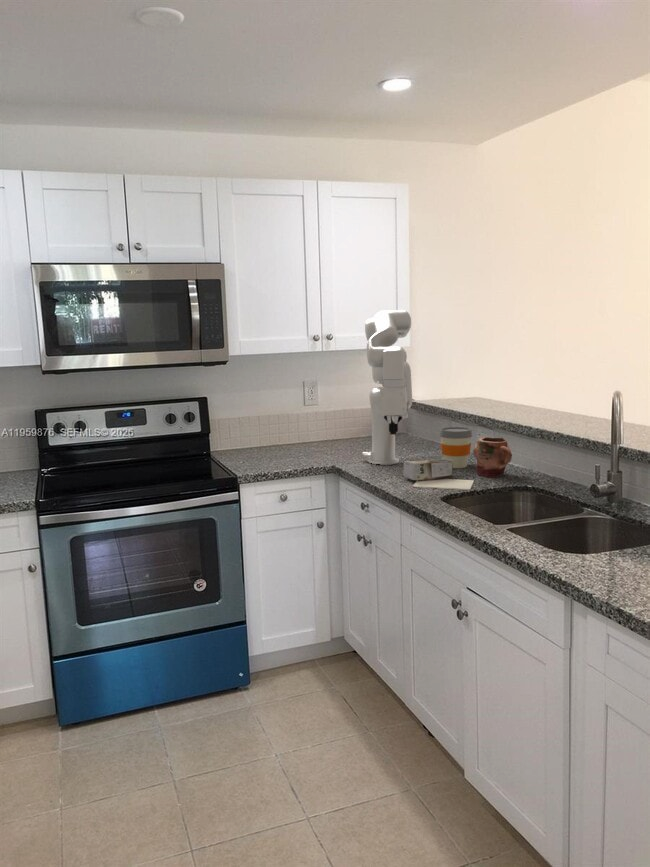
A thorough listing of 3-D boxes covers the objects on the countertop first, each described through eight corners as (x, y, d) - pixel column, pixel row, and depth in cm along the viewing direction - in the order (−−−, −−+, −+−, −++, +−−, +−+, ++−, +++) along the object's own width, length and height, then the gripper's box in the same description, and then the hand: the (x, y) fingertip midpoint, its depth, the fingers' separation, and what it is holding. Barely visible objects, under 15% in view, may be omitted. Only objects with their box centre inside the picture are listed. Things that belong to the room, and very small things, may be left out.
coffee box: (412, 480, 257) (453, 479, 262) (413, 463, 257) (453, 461, 261) (402, 477, 266) (442, 475, 271) (403, 460, 265) (442, 458, 270)
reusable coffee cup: (446, 461, 296) (447, 426, 294) (475, 464, 290) (476, 428, 287) (435, 467, 285) (435, 430, 283) (465, 470, 279) (465, 432, 277)
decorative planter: (524, 478, 263) (525, 441, 261) (500, 482, 257) (501, 444, 255) (486, 469, 280) (487, 434, 278) (463, 472, 274) (463, 437, 272)
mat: (412, 487, 252) (412, 486, 252) (419, 479, 265) (419, 477, 265) (469, 490, 246) (469, 488, 246) (474, 481, 259) (474, 480, 259)
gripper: (370, 384, 253) (370, 435, 256) (412, 385, 248) (411, 436, 252) (375, 382, 260) (375, 431, 263) (415, 382, 255) (415, 432, 259)
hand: (393, 433), depth 258 cm, fingers closed
